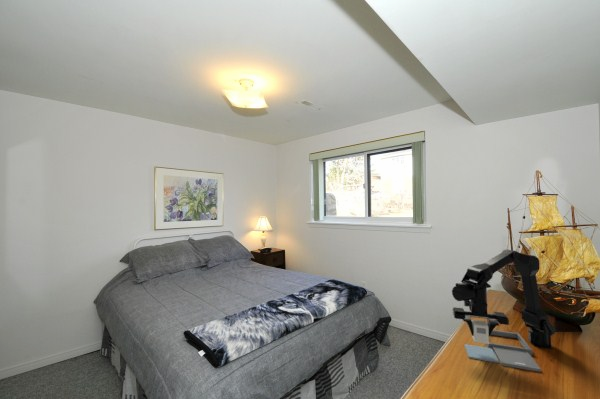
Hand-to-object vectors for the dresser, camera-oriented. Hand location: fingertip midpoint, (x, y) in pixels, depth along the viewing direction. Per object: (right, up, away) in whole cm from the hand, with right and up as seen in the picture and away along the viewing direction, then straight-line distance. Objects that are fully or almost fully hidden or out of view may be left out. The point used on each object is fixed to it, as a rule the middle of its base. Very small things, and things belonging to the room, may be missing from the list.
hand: (480, 336), depth 110 cm
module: (0, -2, 0) cm, 2 cm away
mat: (0, -7, 0) cm, 7 cm away
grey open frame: (+14, -7, +2) cm, 15 cm away
